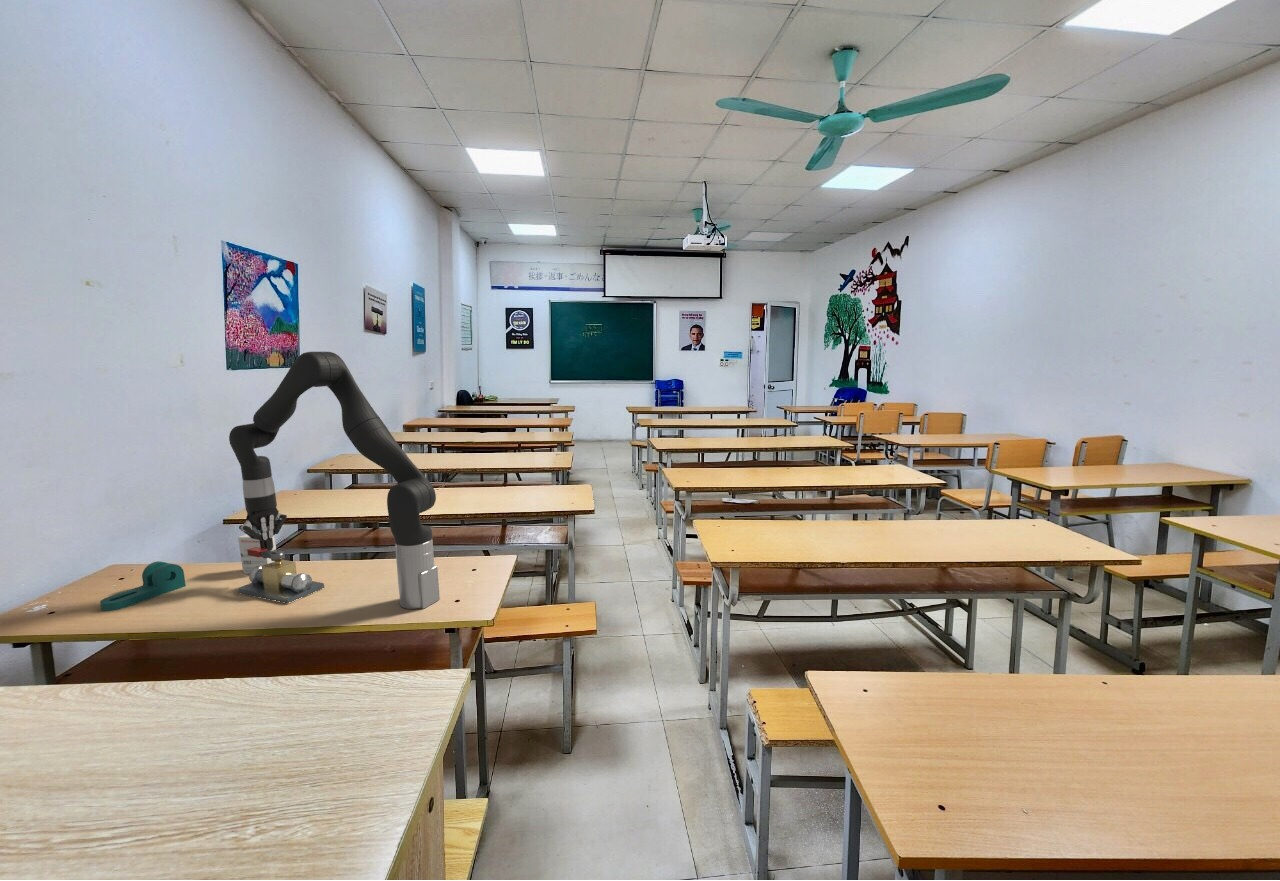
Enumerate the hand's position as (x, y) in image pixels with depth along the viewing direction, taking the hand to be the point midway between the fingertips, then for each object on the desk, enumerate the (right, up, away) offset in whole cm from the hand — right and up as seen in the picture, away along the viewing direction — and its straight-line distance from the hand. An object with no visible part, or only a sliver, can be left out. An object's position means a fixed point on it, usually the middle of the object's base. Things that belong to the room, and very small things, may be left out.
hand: (267, 550), depth 167 cm
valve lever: (+2, -1, -4) cm, 5 cm away
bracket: (-30, -12, -7) cm, 33 cm away
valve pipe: (+7, -10, -4) cm, 13 cm away
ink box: (-9, -9, +10) cm, 16 cm away
